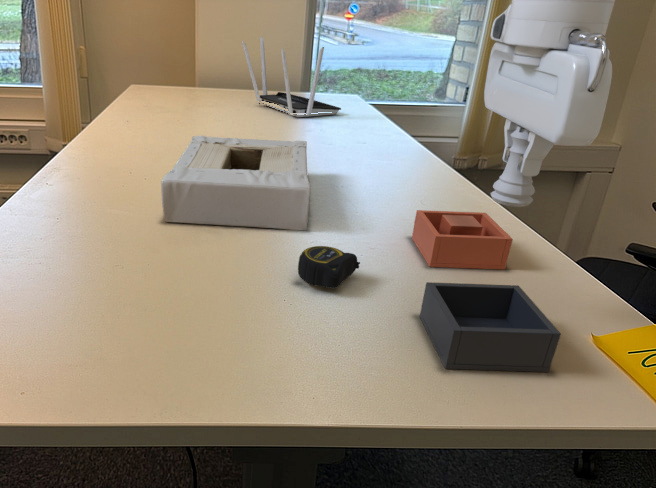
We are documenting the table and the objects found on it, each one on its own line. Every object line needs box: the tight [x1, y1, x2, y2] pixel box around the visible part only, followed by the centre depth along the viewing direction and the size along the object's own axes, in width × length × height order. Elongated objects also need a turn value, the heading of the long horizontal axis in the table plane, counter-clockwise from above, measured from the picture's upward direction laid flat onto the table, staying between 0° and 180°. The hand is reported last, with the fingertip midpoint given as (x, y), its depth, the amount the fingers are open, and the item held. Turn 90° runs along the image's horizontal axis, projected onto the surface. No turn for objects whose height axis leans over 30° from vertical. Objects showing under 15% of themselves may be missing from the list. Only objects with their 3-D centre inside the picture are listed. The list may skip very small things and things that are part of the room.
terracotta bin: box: [411, 209, 513, 270], centre depth 85 cm, size 11×11×5 cm
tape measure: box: [297, 245, 361, 289], centre depth 75 cm, size 7×7×4 cm
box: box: [160, 135, 311, 231], centre depth 104 cm, size 23×8×32 cm
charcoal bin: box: [419, 281, 562, 373], centre depth 63 cm, size 11×11×5 cm
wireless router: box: [241, 36, 342, 118], centre depth 177 cm, size 34×23×20 cm
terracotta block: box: [439, 215, 483, 236], centre depth 85 cm, size 4×4×4 cm
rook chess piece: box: [489, 125, 536, 208], centre depth 62 cm, size 4×4×8 cm
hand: (519, 168), depth 63 cm, fingers closed on rook chess piece, 3 cm apart
